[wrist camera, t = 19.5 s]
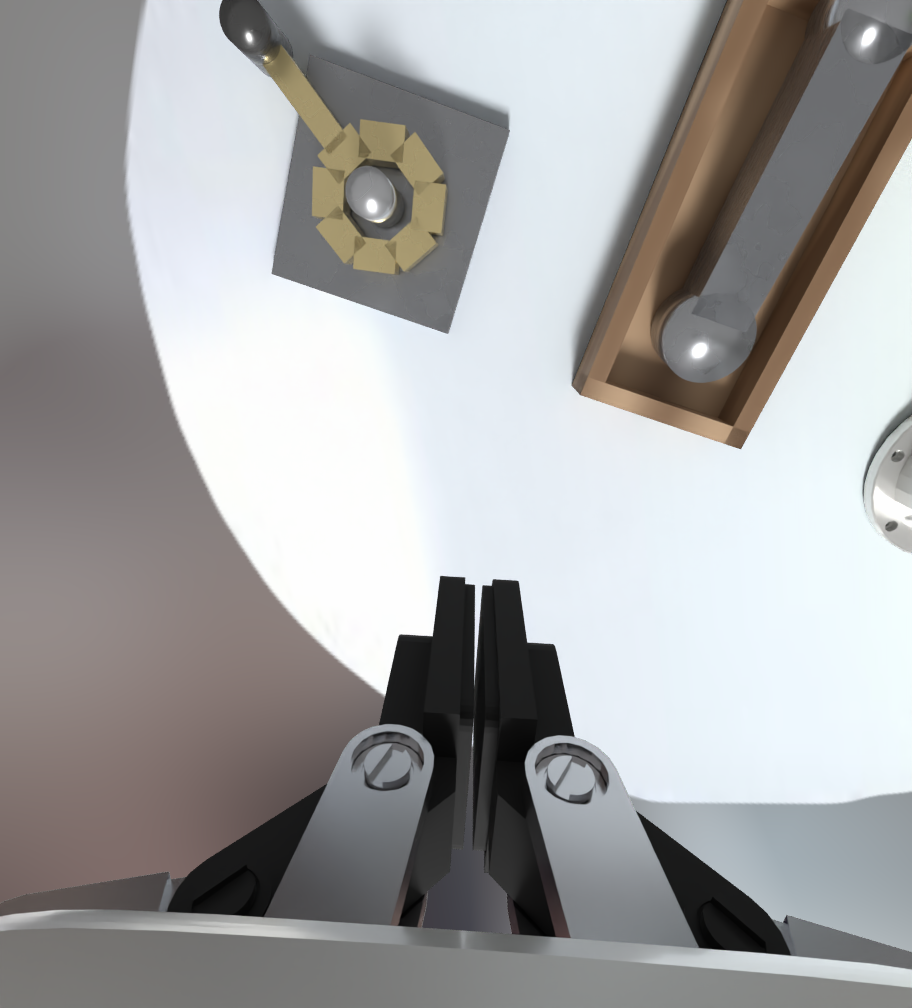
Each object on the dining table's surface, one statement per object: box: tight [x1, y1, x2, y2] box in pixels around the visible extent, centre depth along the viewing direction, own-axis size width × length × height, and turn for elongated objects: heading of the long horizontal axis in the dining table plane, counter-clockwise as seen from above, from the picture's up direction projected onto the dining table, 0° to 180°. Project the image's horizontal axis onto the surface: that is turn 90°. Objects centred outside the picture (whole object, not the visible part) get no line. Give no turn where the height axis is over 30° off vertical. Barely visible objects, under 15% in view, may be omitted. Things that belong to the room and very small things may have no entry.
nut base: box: [272, 55, 510, 334], centre depth 31 cm, size 12×12×6 cm
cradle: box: [572, 0, 912, 449], centre depth 33 cm, size 11×23×4 cm, turn 162°
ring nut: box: [219, 0, 448, 275], centre depth 30 cm, size 14×8×4 cm, turn 38°
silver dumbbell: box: [651, 0, 912, 383], centre depth 30 cm, size 20×5×4 cm, turn 163°
